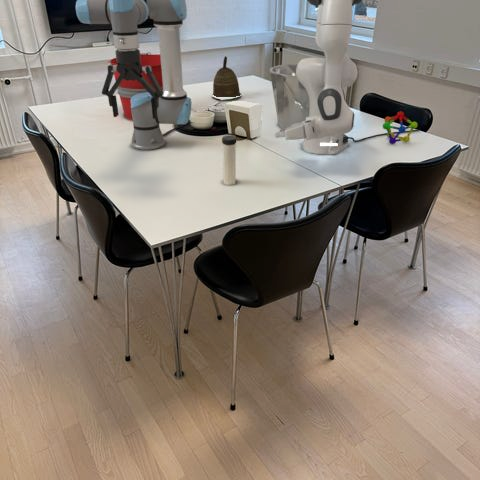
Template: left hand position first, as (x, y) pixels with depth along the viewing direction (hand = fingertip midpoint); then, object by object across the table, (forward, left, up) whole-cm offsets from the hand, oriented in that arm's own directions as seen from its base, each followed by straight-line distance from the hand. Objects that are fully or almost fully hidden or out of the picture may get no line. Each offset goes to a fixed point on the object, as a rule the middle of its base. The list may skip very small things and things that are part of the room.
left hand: (135, 116), depth 150 cm
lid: (-12, +30, -10) cm, 34 cm away
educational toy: (-67, +102, -28) cm, 125 cm away
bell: (-140, +10, -28) cm, 143 cm away
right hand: (-30, +47, -14) cm, 58 cm away
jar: (-12, +30, -28) cm, 43 cm away
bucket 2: (-88, +55, -28) cm, 107 cm away
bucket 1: (-96, -28, -28) cm, 104 cm away
